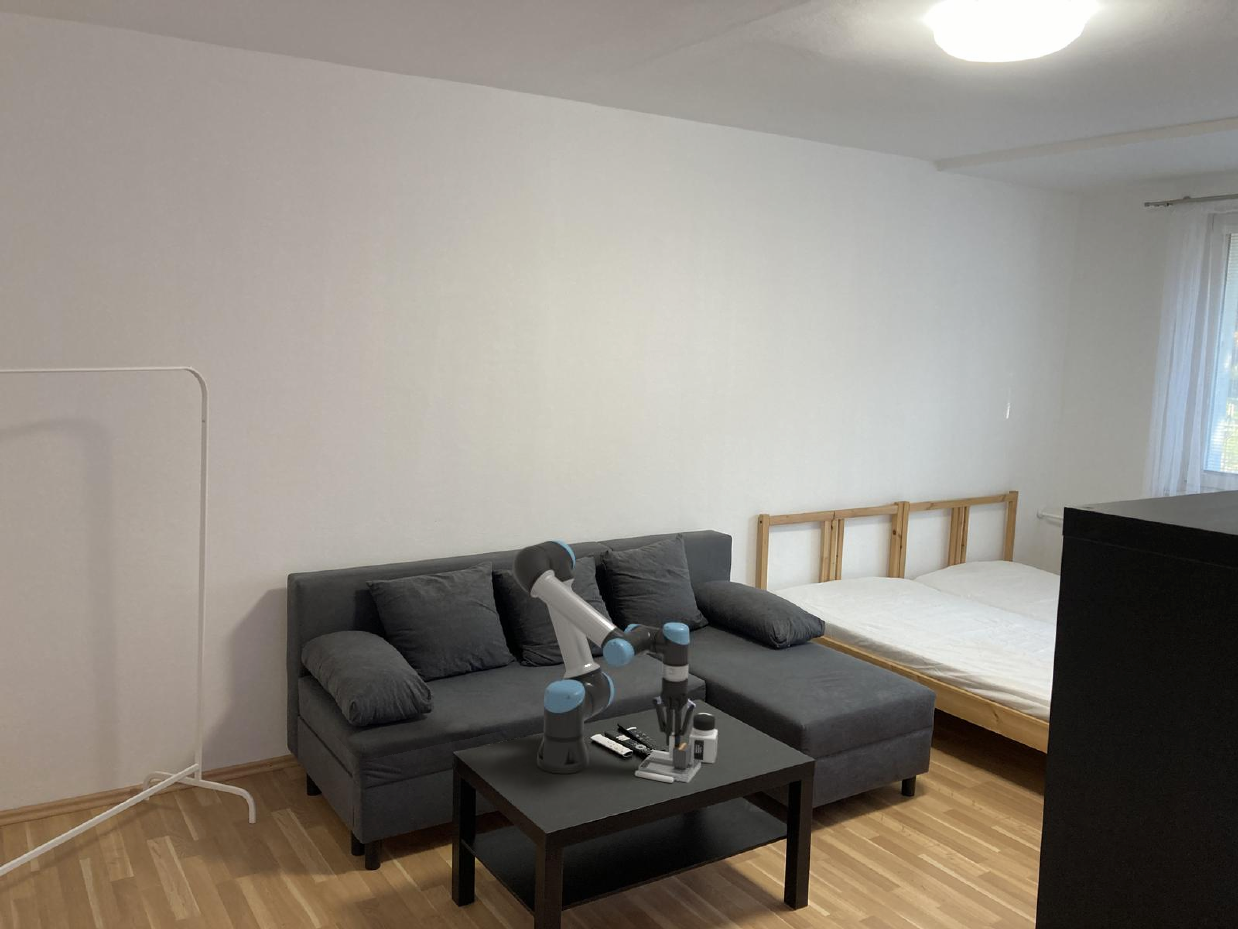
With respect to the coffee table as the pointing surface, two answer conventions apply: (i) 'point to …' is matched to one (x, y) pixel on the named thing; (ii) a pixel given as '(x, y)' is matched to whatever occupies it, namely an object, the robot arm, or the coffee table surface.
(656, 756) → the panel
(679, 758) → the toggle
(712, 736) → the container
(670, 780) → the rod
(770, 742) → the coffee table surface
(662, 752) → the cord far
